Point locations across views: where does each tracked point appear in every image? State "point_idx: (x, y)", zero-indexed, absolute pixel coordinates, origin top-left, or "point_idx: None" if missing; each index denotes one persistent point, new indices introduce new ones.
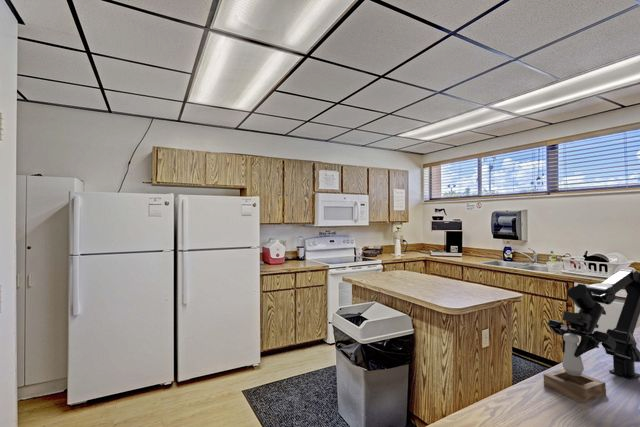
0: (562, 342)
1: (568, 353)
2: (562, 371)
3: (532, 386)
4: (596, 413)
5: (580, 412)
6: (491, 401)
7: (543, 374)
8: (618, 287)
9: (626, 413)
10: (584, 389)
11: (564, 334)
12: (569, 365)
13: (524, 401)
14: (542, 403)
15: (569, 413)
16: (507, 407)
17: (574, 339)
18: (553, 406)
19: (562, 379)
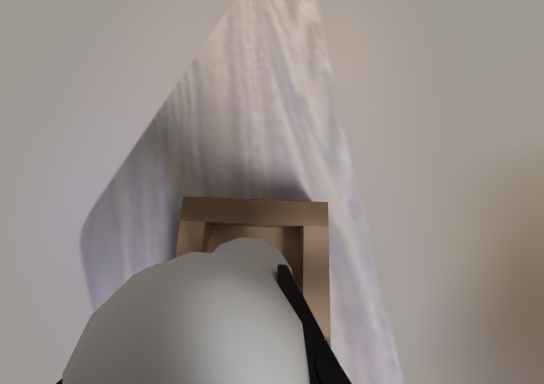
0: (320, 329)
1: (234, 254)
2: (312, 304)
3: (330, 174)
4: (151, 184)
5: (177, 152)
6: (317, 17)
7: (327, 202)
8: None
9: (101, 261)
10: (181, 214)
11: (275, 333)
12: (236, 240)
13: (281, 80)
14: (253, 110)
15: (190, 123)
16: (281, 26)
17: (106, 304)
18: (230, 120)
19: (265, 223)
